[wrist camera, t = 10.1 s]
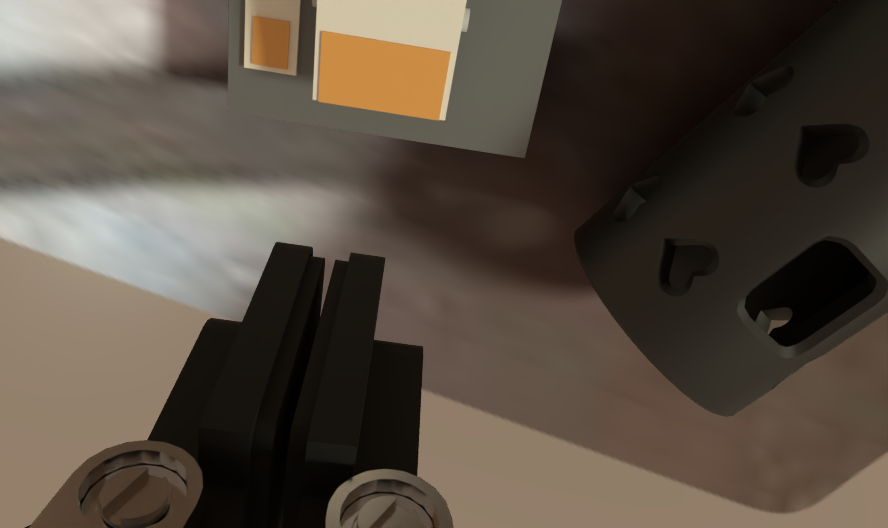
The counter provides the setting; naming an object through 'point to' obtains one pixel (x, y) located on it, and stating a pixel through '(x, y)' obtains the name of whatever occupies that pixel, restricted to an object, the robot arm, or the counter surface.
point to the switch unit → (466, 124)
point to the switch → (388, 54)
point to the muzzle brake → (759, 221)
